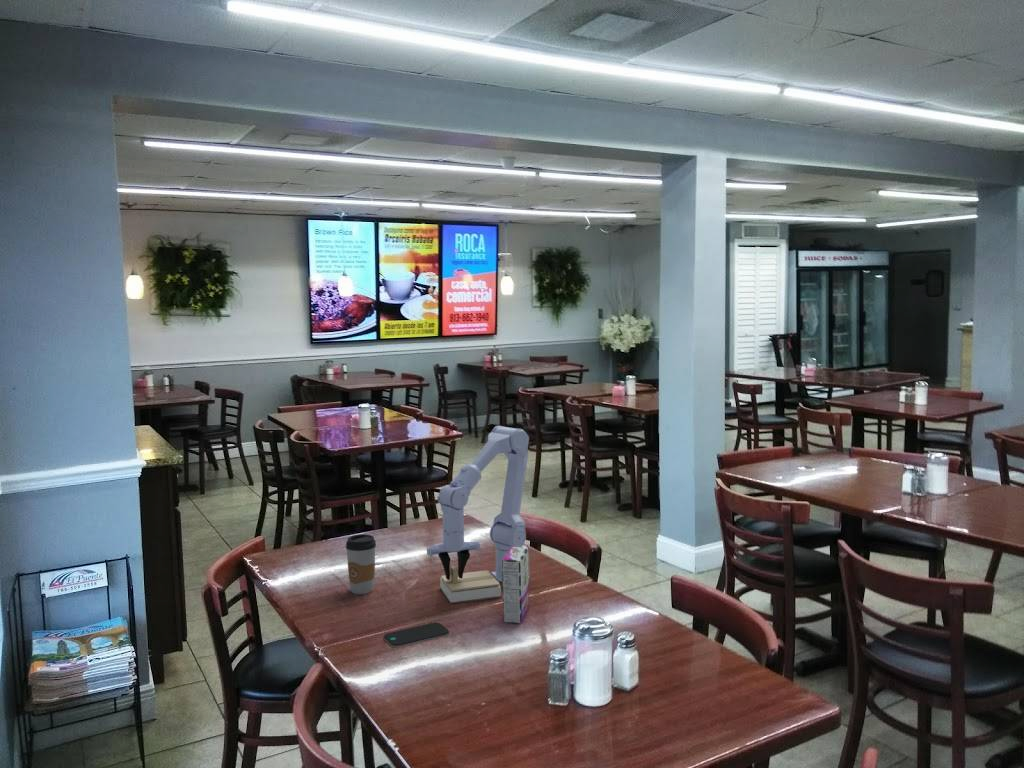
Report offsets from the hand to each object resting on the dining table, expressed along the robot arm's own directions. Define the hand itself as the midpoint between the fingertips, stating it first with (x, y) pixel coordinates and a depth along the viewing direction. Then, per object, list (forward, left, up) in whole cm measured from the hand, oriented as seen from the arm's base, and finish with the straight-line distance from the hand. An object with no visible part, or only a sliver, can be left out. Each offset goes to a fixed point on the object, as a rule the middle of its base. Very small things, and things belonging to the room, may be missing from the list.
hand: (454, 578), depth 216 cm
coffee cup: (+24, -12, -5) cm, 27 cm away
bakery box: (-4, 0, -5) cm, 7 cm away
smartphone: (+15, +23, -5) cm, 28 cm away
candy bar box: (-11, +19, -5) cm, 23 cm away
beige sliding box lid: (-4, 0, -1) cm, 5 cm away
